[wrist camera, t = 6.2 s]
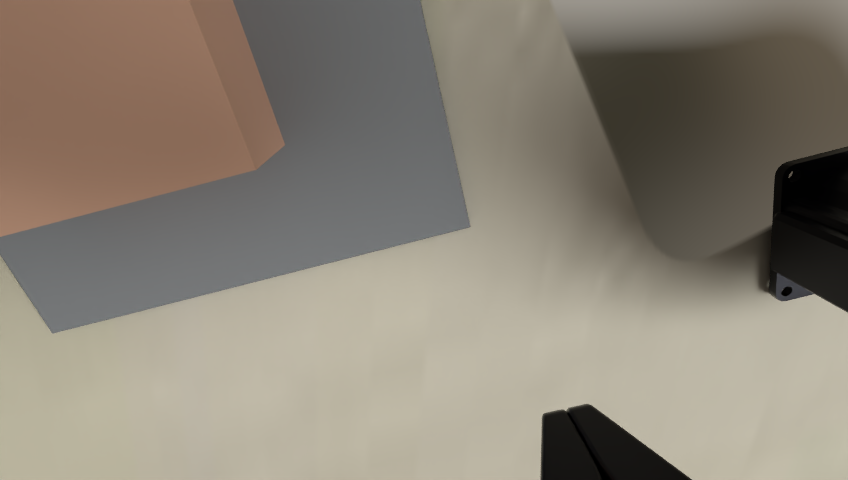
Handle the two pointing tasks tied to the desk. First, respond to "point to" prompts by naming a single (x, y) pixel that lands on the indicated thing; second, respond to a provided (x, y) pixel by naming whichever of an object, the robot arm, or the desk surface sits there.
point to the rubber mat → (275, 174)
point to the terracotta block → (123, 104)
